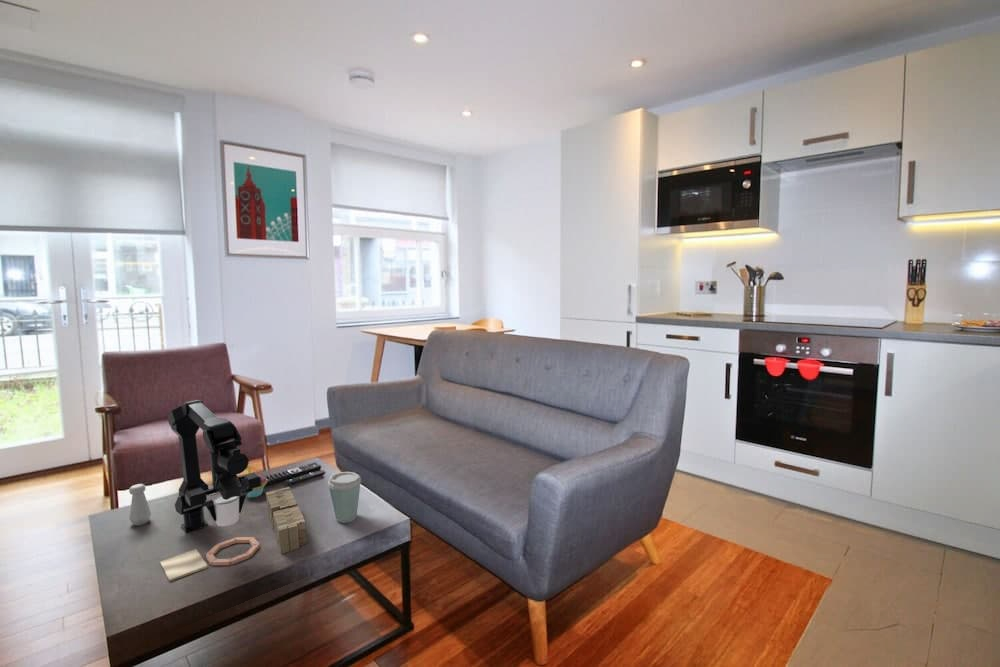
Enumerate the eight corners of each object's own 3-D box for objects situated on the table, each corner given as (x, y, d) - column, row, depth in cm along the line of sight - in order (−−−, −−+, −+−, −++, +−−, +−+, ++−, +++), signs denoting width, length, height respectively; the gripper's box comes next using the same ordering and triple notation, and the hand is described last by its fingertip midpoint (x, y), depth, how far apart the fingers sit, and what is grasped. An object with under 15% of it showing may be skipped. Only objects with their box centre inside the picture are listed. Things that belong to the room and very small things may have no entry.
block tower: (308, 549, 147) (291, 507, 172) (306, 523, 146) (290, 485, 171) (279, 557, 143) (267, 513, 168) (277, 530, 142) (265, 490, 167)
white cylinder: (235, 513, 148) (233, 491, 147) (245, 520, 143) (243, 497, 143) (210, 522, 142) (208, 499, 142) (220, 530, 138) (218, 506, 137)
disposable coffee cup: (357, 507, 171) (355, 466, 169) (367, 520, 162) (365, 477, 160) (326, 516, 165) (323, 474, 163) (335, 530, 156) (332, 485, 154)
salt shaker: (125, 525, 161) (121, 488, 160) (143, 517, 167) (138, 480, 165) (139, 528, 159) (134, 490, 158) (155, 519, 165) (151, 482, 163)
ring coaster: (202, 552, 144) (202, 549, 144) (249, 535, 154) (249, 532, 153) (215, 571, 135) (214, 567, 135) (264, 551, 144) (264, 548, 144)
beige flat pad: (160, 563, 139) (160, 561, 139) (196, 550, 146) (196, 548, 145) (169, 582, 131) (169, 579, 131) (207, 567, 137) (207, 565, 137)
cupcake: (237, 499, 178) (234, 468, 177) (250, 489, 187) (247, 459, 185) (260, 499, 178) (258, 468, 177) (272, 489, 186) (269, 459, 185)
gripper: (192, 483, 129) (198, 539, 131) (266, 463, 142) (270, 514, 144) (182, 472, 136) (187, 524, 138) (253, 453, 149) (257, 502, 151)
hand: (227, 516), depth 143 cm, fingers closed on white cylinder, 6 cm apart
